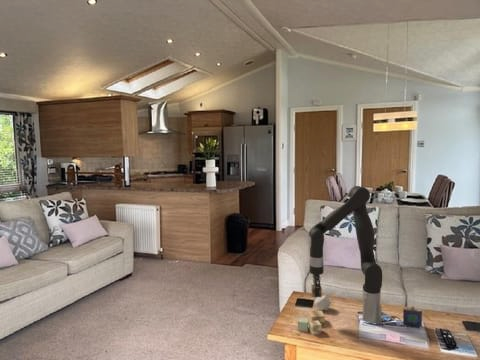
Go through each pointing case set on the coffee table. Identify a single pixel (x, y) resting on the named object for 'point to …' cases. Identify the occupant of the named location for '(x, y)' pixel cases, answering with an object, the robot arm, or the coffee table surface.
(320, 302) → the die
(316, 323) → the beech block
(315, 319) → the oak base
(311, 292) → the walnut block
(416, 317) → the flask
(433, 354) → the coffee table surface
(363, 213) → the robot arm
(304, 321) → the sage block
